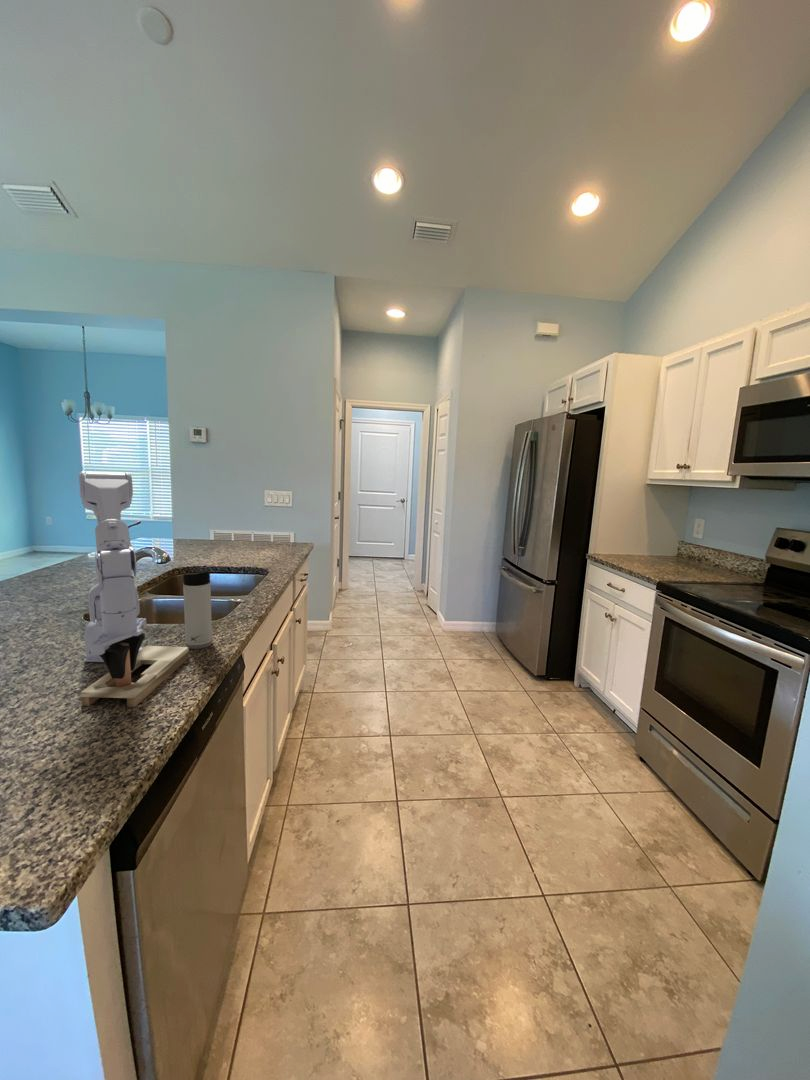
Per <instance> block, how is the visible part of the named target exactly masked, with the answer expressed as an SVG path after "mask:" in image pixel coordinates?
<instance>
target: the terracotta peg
mask: <svg viewBox="0 0 810 1080" xmlns="http://www.w3.org/2000/svg"><path fill="white" fill-rule="evenodd" d="M120 644H122V645H124V646H129V643H120ZM134 683H135V682H132V673H131V667H130V651H129V650H128V653H127V657H126V663H125V675H124V677H123V678H122V679H115V686H113V687H125V686H128V685H132V684H134Z"/></svg>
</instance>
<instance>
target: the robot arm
mask: <svg viewBox="0 0 810 1080" xmlns="http://www.w3.org/2000/svg"><path fill="white" fill-rule="evenodd" d="M78 479H79V480H78V481H79V493H80V495H79V496H80V499H81V504H82V505H83V508H84V509H86V510H89V511H92V512H93V514H94V516H95V517H96V520H97V524H96V526H95V528H94V535H95V545H96V553H95V555H94V565H95V576H96V578H97V582H98V583H96V584H95V585H94V586H92V587H91V588H90V589H89V591H88V611H89V612H88V613H89V621H90V622H88V623H87V625H86V626H85V630H84V635H83V636H84V637H83V638H84V648H85V658H84V659H83V662H88V663H89V662H90V663H105V664H104V665H105V666H106V668H107V670H108V673H110V675H111V677H112V678H115V679H122V678H123V677H124V675H125V663H126V657H127V653H128V650H129V651H130V667H131V671H133V670H134V668H135V664H136V659H137V655H138V651H140V650H141V649H143V648H144V647H141V645H142V643H143V642H144V640H145V638H146V635H145V633H144V631H143V629H145V628H147V618H145V617H144V618H143V617H140V618H139V617H138V616H139V615H140V598H139V593H138V587H137V586H136V584H135V577H136V576H137V573H138V572H137V568H138V567H137V565H138V564H137V556H136V552H135V549H134V547H133V544H132V543H131V537H130V531H129V525H127V523H125V522H124V521H122V517H121V516H122V515H121V514H122V511H123V510H126V509H129V508H130V507H131V504H132V500H133V495H134V494H133V493H134V492H133V491H134V489H133V478H132V474H131V473H130V472H128V471H125V472H112V471H110V472H107V471H84V470H81V471H80V472H79V473H78ZM132 571H133V573H132ZM132 574H133V575H134V576H133V575H132ZM120 643H129V646H124V645H122V644H120Z"/></svg>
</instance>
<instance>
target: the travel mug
mask: <svg viewBox="0 0 810 1080" xmlns="http://www.w3.org/2000/svg"><path fill="white" fill-rule="evenodd" d="M210 578H211V572H210V570H195V571H193V572H185V573H183V574H182V580H183V583H182V584H183V586H182V587H183V588H182V589H183V607H184V608H183V609H184V611H183V613H184V615H183V616H184V636H185V647H188V649H189V650H202V649H205V647H206V648H208V647H210V646H211V645H212V644H213V629H212V628H213V627H212V620H213V619H212V597H211V596H212V594H211V592H212V591H211V579H210Z"/></svg>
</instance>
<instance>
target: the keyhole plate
mask: <svg viewBox="0 0 810 1080" xmlns="http://www.w3.org/2000/svg"><path fill="white" fill-rule="evenodd" d="M189 650H190V649H189V648H188V647H186V646H166V645H165V646H163V645H162V646H161V645H146V646H144V647H143V649H141V650H140V651H138V655H137V659H136V664H135V668H134V670H133V671H131V674H133V673H134V672H135V671H136V670H138V669H140V667H142V666H144V665H150V666H149V667H148V668H146V669H145V670H144V671H143V672H142V673H140V678H139V679H138V680H137V681H135V682H133V683H134V684H132V685H128V686H125V687H113V686H115V678H112V677H111V675H110V673H109V672H107V673H106V674H104V675H103V676H102V677H100V678H98V680H96V681H94V682H93V683H92V684H90V685H89V686H88V687H87V686H86V688H84V689H83V690H82V691H80V699H81V700H80V701H81V706H85V707H86V706H87V707H90V706H91V705H93V703H95V702H96V701H98V700H99V699H100V698H105V699H107V698H109V699H111V698H112V699H126V705H127V708H135V707H137V705H139V704H140V703H141V702H142V701H143V700H144V699H145V698H146V697H147V696H149V695H150V694H151V693H153V691H155V689H157V688H158V686H160V685H161V684H162V683H163V682H164V681H165V680H166V679H167V678H168V677H170V676H171V675H172V674H173V673H174V672H175V671H177V669H179V668H180V666H182V665H183V664H184V663H185V662H186V661H188V660H189V658H190V655H189V652H190V651H189Z"/></svg>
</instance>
